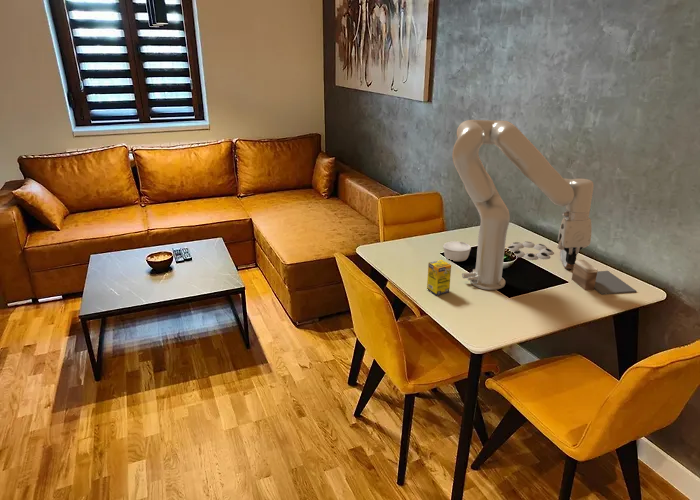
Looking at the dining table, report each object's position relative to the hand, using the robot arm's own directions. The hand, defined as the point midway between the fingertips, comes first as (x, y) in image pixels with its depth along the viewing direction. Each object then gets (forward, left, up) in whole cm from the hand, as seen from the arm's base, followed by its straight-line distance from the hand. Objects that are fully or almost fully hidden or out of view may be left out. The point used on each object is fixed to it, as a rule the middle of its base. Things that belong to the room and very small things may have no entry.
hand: (570, 263), depth 177 cm
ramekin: (-32, +31, -9) cm, 45 cm away
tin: (+9, +18, -9) cm, 22 cm away
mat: (+15, 0, -9) cm, 18 cm away
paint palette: (+1, +33, -10) cm, 35 cm away
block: (+6, 0, -9) cm, 11 cm away
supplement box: (-48, +2, -9) cm, 49 cm away
